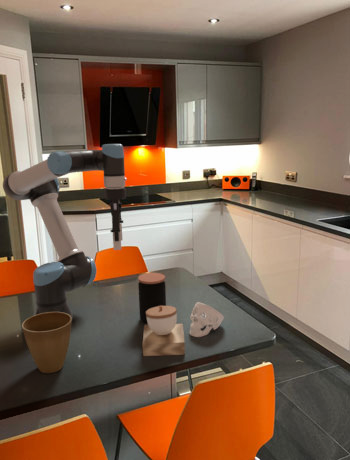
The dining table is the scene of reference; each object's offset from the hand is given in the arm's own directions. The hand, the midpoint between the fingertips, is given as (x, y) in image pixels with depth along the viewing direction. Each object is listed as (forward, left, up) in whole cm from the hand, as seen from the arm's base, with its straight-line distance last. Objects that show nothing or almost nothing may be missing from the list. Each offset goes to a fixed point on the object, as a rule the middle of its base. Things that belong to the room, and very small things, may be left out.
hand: (118, 244), depth 149 cm
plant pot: (-22, -26, -33) cm, 47 cm away
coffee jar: (+12, +4, -33) cm, 35 cm away
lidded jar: (+15, -17, -28) cm, 36 cm away
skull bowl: (+31, -7, -33) cm, 46 cm away
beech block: (+15, -17, -33) cm, 40 cm away
